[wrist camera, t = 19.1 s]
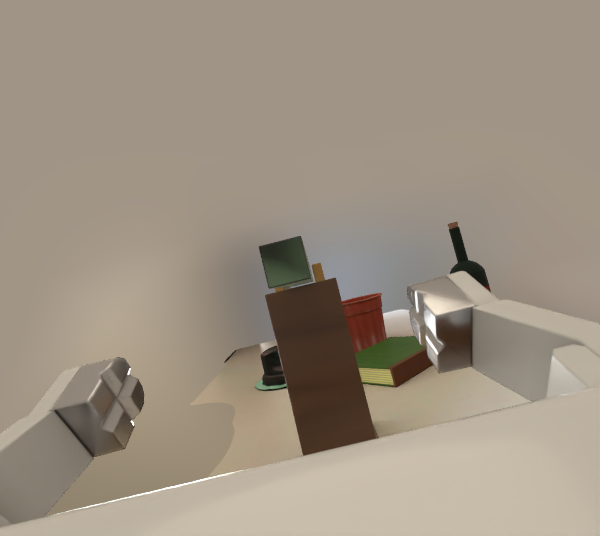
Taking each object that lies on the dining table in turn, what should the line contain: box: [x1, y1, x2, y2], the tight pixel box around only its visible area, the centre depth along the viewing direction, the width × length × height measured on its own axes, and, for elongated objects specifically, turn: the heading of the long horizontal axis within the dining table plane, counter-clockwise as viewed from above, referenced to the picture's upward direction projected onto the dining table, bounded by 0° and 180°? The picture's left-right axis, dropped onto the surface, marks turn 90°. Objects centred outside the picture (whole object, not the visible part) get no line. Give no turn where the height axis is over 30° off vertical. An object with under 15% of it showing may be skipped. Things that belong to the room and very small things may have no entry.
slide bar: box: [259, 236, 313, 288], centre depth 38 cm, size 30×3×3 cm, turn 177°
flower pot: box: [342, 293, 387, 353], centre depth 106 cm, size 16×16×16 cm
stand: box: [265, 263, 378, 456], centre depth 45 cm, size 20×10×26 cm, turn 177°
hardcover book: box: [355, 336, 432, 387], centre depth 82 cm, size 25×19×4 cm
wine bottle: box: [448, 222, 491, 292], centre depth 78 cm, size 8×10×30 cm
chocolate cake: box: [256, 346, 287, 390], centre depth 94 cm, size 15×19×20 cm
